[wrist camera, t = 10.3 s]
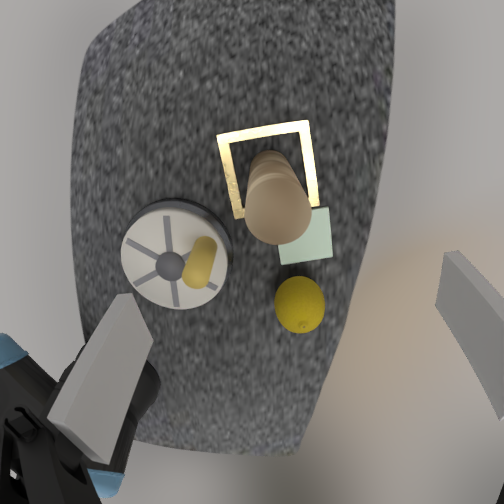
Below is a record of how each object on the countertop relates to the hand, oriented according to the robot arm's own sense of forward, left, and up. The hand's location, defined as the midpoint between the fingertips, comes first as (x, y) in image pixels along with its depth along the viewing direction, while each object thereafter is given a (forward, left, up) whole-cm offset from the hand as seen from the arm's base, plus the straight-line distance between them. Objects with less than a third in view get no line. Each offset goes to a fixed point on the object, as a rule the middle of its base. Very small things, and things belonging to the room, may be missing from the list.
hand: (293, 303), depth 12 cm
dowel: (0, +1, -22) cm, 22 cm away
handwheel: (-12, -7, -20) cm, 24 cm away
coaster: (+2, -7, -22) cm, 23 cm away
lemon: (+1, -13, -22) cm, 25 cm away
